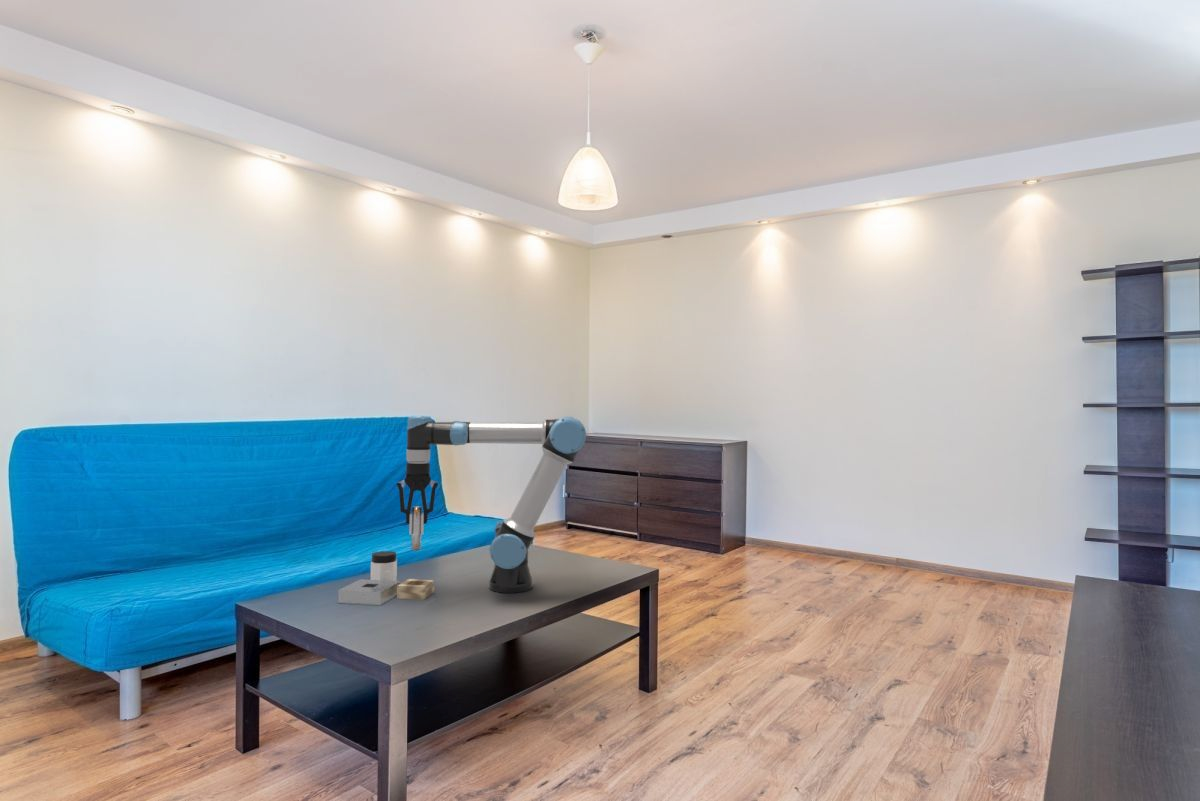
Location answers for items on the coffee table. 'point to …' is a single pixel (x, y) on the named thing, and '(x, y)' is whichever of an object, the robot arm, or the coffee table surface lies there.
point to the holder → (415, 589)
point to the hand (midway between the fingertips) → (416, 533)
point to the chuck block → (368, 592)
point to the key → (416, 528)
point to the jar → (384, 566)
